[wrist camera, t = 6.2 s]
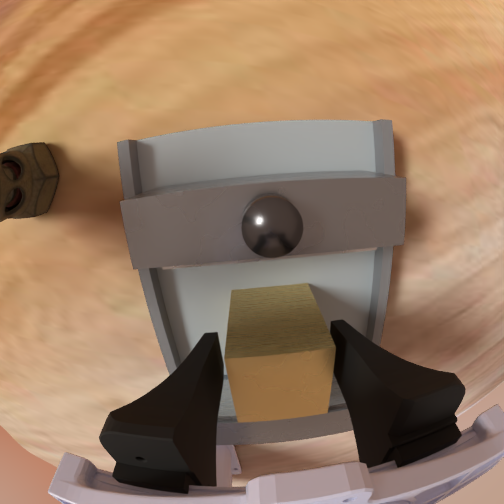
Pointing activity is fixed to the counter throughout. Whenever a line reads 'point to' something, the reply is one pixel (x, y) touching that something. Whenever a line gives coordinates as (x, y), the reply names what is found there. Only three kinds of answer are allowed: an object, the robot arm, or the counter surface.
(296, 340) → the block
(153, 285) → the board
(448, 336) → the counter surface
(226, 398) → the fixed jaw
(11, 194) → the grenade
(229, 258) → the bar
